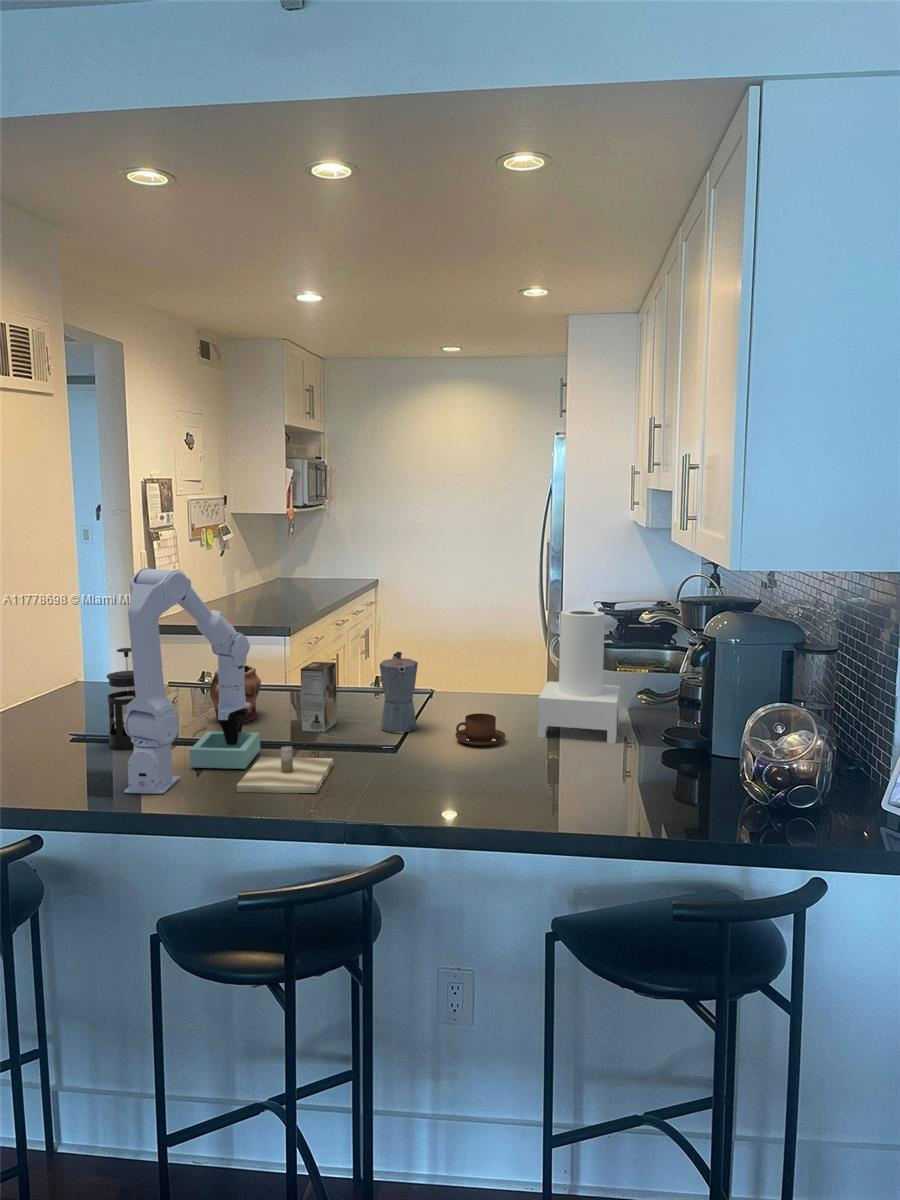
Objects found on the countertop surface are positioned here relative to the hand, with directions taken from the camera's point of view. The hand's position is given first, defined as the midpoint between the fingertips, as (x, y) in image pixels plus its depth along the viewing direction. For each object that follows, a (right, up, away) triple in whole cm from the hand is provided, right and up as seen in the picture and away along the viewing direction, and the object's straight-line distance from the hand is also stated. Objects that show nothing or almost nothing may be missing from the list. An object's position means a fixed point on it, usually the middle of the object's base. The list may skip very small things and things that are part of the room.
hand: (233, 743), depth 195 cm
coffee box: (+16, 0, +23) cm, 28 cm away
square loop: (0, -3, -5) cm, 5 cm away
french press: (-26, -2, +7) cm, 27 cm away
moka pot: (+36, 0, +22) cm, 42 cm away
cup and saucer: (+57, -2, +12) cm, 58 cm away
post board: (+15, -5, -15) cm, 22 cm away
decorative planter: (-7, +1, +28) cm, 29 cm away
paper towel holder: (+82, -1, +22) cm, 85 cm away
